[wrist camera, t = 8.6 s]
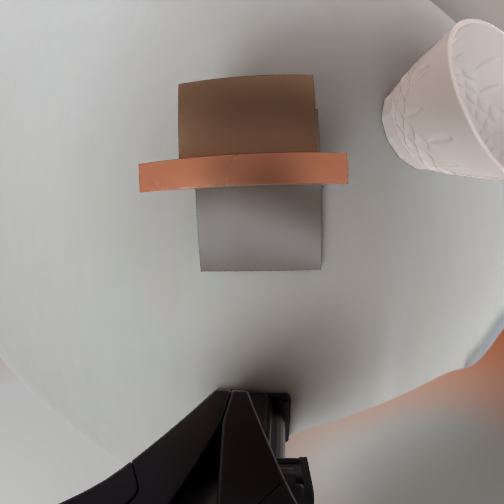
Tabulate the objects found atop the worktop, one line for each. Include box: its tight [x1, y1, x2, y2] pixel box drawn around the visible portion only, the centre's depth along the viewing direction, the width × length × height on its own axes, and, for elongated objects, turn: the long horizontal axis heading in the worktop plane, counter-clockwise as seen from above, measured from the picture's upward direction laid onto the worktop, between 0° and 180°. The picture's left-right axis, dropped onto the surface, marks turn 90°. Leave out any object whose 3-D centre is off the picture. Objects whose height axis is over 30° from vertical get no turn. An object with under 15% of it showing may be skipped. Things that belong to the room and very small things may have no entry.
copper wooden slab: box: [139, 152, 348, 192], centre depth 13 cm, size 5×7×9 cm
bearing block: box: [178, 75, 322, 271], centre depth 15 cm, size 10×8×7 cm
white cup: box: [382, 19, 504, 180], centre depth 11 cm, size 8×8×10 cm
